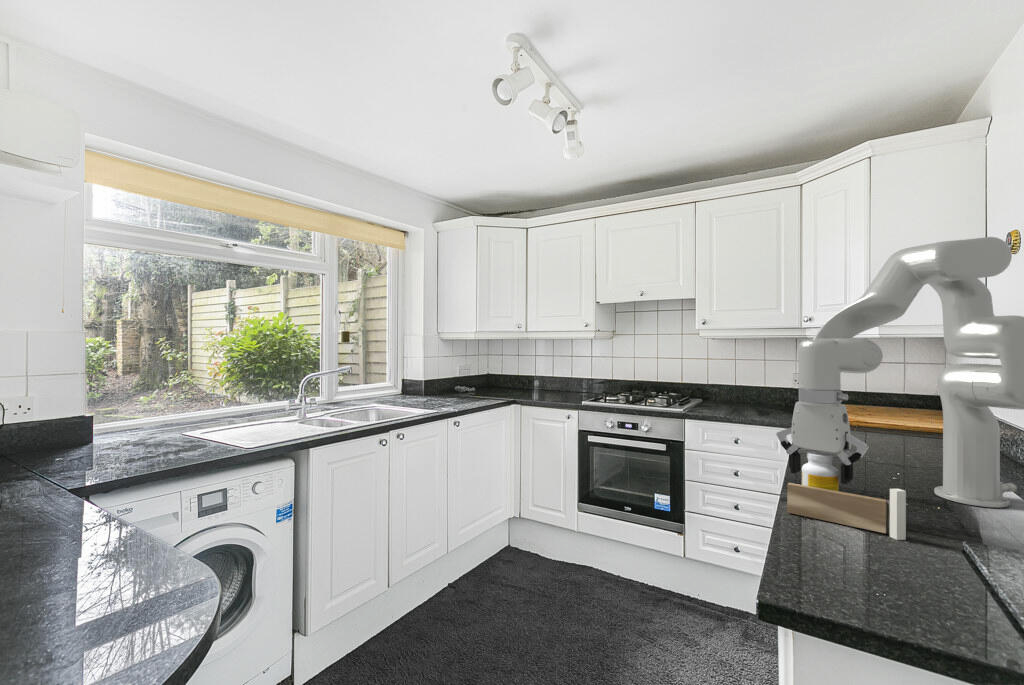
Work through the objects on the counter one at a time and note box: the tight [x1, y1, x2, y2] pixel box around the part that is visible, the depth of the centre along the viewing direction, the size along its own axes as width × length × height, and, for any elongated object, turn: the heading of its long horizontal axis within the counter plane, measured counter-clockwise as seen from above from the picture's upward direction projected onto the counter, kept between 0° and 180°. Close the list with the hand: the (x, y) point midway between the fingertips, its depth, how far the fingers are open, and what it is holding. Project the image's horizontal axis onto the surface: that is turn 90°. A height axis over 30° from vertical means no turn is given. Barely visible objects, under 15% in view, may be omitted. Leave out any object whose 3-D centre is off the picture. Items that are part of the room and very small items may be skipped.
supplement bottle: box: [801, 450, 840, 492], centre depth 101 cm, size 7×7×13 cm
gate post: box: [889, 488, 907, 541], centre depth 88 cm, size 2×2×9 cm
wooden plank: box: [786, 482, 890, 535], centre depth 95 cm, size 2×18×6 cm, turn 48°
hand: (819, 477), depth 101 cm, fingers open, 9 cm apart
